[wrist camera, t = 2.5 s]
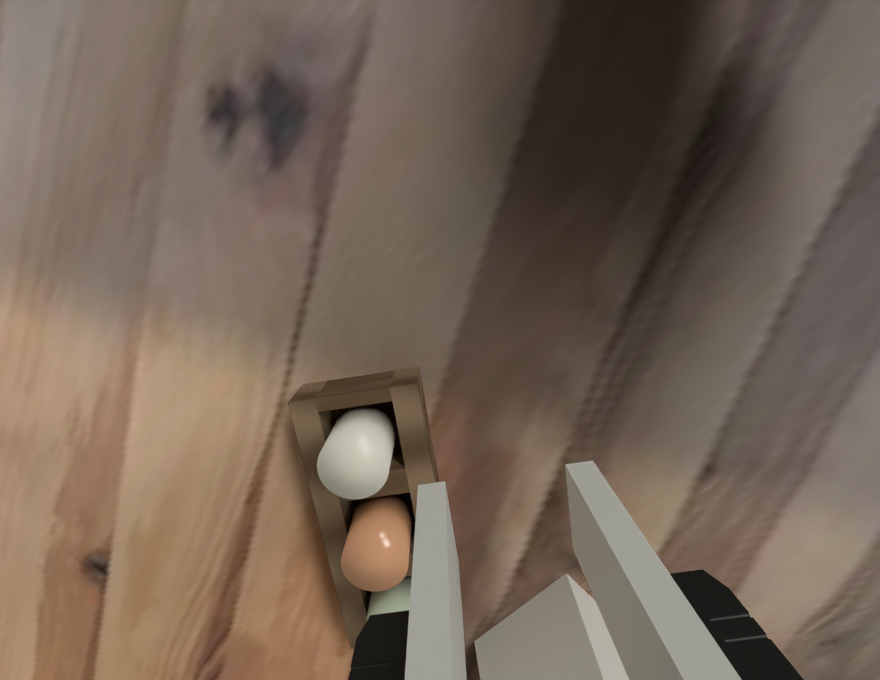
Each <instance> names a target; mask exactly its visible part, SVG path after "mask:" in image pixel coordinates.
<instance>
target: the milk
mask: <svg viewBox="0 0 880 680" xmlns="http://www.w3.org/2000/svg"><path fill="white" fill-rule="evenodd" d="M474 643H475V649H476V656H477V662H478V668H479V675H480V680H629V678H628V675H627V673H626V671H625V669H624V666H623V664H622V662H621V659H620V657H619V655H618V652H617V650H616V648H615V645H614V643H613V641H612V638H611V636H610V634H609V631H608V629H607V627H606V624H605V622H604V620H603V617H602V615H601V613H600V610H599V608H598V606H597V603H596V601H595V600H594V599H592V598H591V597H590V596H589V595H588V594H587V593H586V592H585V591H584V590H583V589H582V588H581V587H580V586H579V585H578V584H577V583H576V582H575V581H574V580H573V579H572V578H571V577H570V576H569V575H568V574H567V573H566V574H565V575H563V576H562V577H561V578H559V579H558V580H556V581H555V582H554V583H552V584H551V585H550V586H548V587H547V588H546V589H544V590H543V591H542V592H540V593H539V594H538V595H536V596H535V597H534V598H532V599H531V600H529V601H528V602H527V603H525V604H524V605H523V606H521V607H520V608H519V609H517V610H516V611H515V612H513V613H512V614H511V615H509V616H508V617H506V618H505V619H504V620H502V621H501V622H500V623H498V624H497V625H496V626H494V627H493V628H492V629H490V630H489V631H488V632H486V633H485V634H484V635H482V636H481V637H479V638H478V639H477V640H475V641H474Z"/></svg>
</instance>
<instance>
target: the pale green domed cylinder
mask: <svg viewBox="0 0 880 680" xmlns="http://www.w3.org/2000/svg"><path fill="white" fill-rule="evenodd" d="M411 579H412V576H406V577H404V579H403V580H402V581H401V582H400V583H399V584H398V585H396V586H395V587H393V588H391V589H388V590H385V591H378V592H374V591H371V597H370V603H369V608H368V614H367V620H368V618H369V617H370V615H376V614H384V613H391V612H399V611H406V610H409V607H410V593H411ZM367 620H366V622H367Z"/></svg>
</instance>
